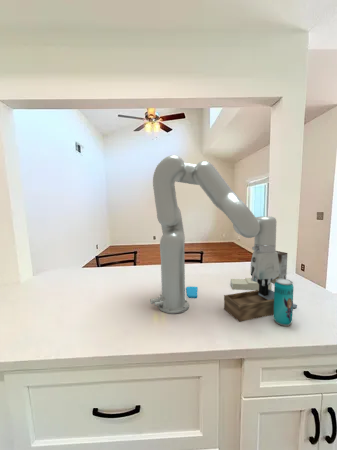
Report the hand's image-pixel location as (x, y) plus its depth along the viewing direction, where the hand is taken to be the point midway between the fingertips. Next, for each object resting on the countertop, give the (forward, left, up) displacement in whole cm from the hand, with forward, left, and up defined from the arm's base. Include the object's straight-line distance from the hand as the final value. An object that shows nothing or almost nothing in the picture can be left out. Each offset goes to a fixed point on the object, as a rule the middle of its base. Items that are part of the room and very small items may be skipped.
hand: (263, 294), depth 84 cm
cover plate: (+7, 0, -4) cm, 8 cm away
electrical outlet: (+10, +20, -7) cm, 23 cm away
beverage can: (0, -10, -6) cm, 12 cm away
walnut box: (-6, 0, -6) cm, 9 cm away
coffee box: (+27, +22, -6) cm, 36 cm away
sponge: (-21, +24, -7) cm, 32 cm away
